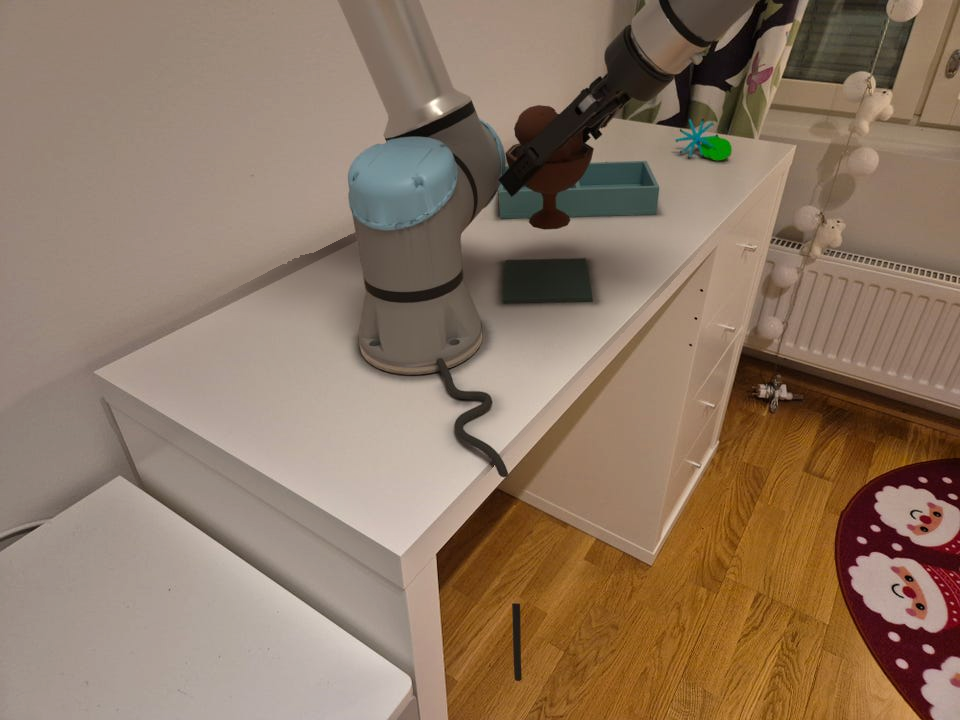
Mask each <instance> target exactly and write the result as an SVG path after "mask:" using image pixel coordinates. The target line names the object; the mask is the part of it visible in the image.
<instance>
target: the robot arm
mask: <svg viewBox="0 0 960 720" xmlns="http://www.w3.org/2000/svg"><path fill="white" fill-rule="evenodd" d="M759 1H760V0H648V1H647V2H646V3H645V4H644V5H643V6H642V8H641V9H640V10H639V11H638V12H637V13H636V14H635V15H634V16H633V17H632V18H631V24H628V25H626V26H624V28H623V29H622V30H621V31H620V32H619V34H618V35H617V36H616V37H615V38H614V39H613V40H612V41H611V42H610V43H609V44H608V45H607V47H606V48H605V51H604V57H603V60H604V64H605V66H606V72H607V73H606V74H605V75H604V76H603V77H602V76H601V75H600V76H598V77H597V78H595V79H594V80H593V81H592V82H591V83H590V84H589V86H588V87H586V88H583V89H582V90H581V91H580V93H579V94H578V95H577V96H576V97H575V98H573V100H572V101H571V103H569V104H568V105H567V106H566V107H565V108H564V109H563V110H562V111H561V112H559V113H558V114H559V115H558V116H557V117H556V118H555V119H554V120H553V121H551V122H550V123H549V124H548V125H547V126H546V127H545V128H544V129H543V130H542V131H541V132H540V133H539V134H538V135H537V136H536V137H534V138H533V139H532V140H531V141H530V142H529V143H528V142H527V141H525V142H524V143H523V145H524V148H522V151H523V154H522V155H521V156H520V157H519V158H518V159H517V160H516V161H515V162H514V163H513V165H512V166H511V167H510V168H509V169H508V170H507V171H506V172H505V165H506V163H507V160H506V155H505V153H506V152H505V149H504V146H503V143H502V140H501V138H500V136H499V135H498V133H497V131H496V130H495V129H494V128H493V127H492V126H491V125H490V124H489V123H488V122H485V120H482V119H481V118H480V117H479V115H478V113H477V110H476V107H475V106H474V105H475V104H474V103H473V100H472V98H471V96H470V95H468V94H467V93H463V92H461V91H459V90H458V89H456V88H455V87H454V85H453V83H452V80H451V77H450V76H449V75H450V74H449V73H448V69H447V66H446V65H445V62H444V59H443V57H442V54H441V52H440V49H439V47H438V44H437V42H436V39H435V36H434V34H433V32H432V29H431V26H430V24H429V21H428V19H427V16H426V13H425V11H424V8H423V6H422V3H421V0H337V2H338V5H339V7H340V9H341V11H342V13H343V17H344V18H345V20H346V23H347V24H348V27H349V29H350V32H351V35H352V36H353V38H354V41H355V43H356V45H357V47H358V50H359V52H360V54H361V57H362V59H363V61H364V63H365V66H366V69H367V71H368V73H369V75H370V77H371V80H372V82H373V84H374V86H375V89H376V91H377V93H378V95H379V96H378V97H380V101H381V102H382V105H383V108H384V109H385V112H386V114H387V123H386V126H385V128H384V132H383V137H384V140H385V143H376V144H373V145H371V146H369V147H368V148H366V149H364V150H363V151H361V152H360V153H359V154H358V155H357V156H356V157H355V158H354V159H353V161H352V162H351V164H350V166H349V169H348V173H347V184H348V206H349V209H350V211H351V216H352V221H353V226H354V231H355V232H354V233H355V237H356V243H357V248H358V249H357V250H358V254H359V260H360V265H361V271H362V278H363V284H364V290H365V293H364V297H363V304H362V309H361V315H360V321H359V325H358V333H357V334H358V335H357V336H358V337H357V338H358V343H359V350H360V353H361V355H362V357H363V358H364V360H365V361H366V362H368V363H369V364H370V365H371V366H373V367H375V368H377V369H379V370H382V371H385V372H388V373H393V374H398V375H410V376H411V375H413V376H414V375H426V374H427V375H428V374H433V373H438V372H440V373H441V376H442V378H443V379H444V383H445V387H446V389H447V391H448V392H449V394H451V395H452V396H453V397H455V398H458V399H462V400H480V401H481V400H482V401H483V402H482V403H481V404H479V405H477V406H475V407H472V408H470V409H468V410H466V411H464V412H463V413H461V414H460V415H458V416H457V418H456V419H455V421H454V432H455V435H456V436H457V437H458V438H459V439H460V440H461V441H462V442H464V443H466V444H468V445H470V446H471V447H474V448H476V449H478V450H479V451H481V452H483V453H484V454H485V455H486V457H488V458H489V459H490V460H491V461H492V463H493V465H494V467H495V469H496V471H497V473H498V475H499V476H500V477H501V478H507V477H508V476H509V471H508V469H507V466H506V465H505V462H504V460H503V459H502V457H501V455H500V453H498V452H497V450H495V448H493V447H492V446H491V445H490V444H489V443H486V442H485V441H483V440H481V439H480V438H478V437H475V436H473V435H471V434H469V433H468V432H467V431H465V429H464V424H465V423H466V422H469V420H471V419H473V418H475V417H477V416H479V415H482V414H483V413H486V412H487V411H488V410H489V409H490V408H491V407H492V405H493V399H492V396H491V395H490V394H489V393H487V392H485V391H479V390H477V391H476V390H473V391H472V390H469V391H468V390H461V389H458V388H457V387H456V385H455V383H454V380H453V377H452V373H451V371H450V370H449V369H451V368H453V367H456V366H458V365H460V364H462V363H464V362H465V361H467V360H468V359H469V358H471V357H473V355H474V354H475V353H476V352H477V351H478V349H479V347H480V346H481V344H482V343H483V342H482V341H483V326H482V325H483V324H482V320H481V317H480V314H479V312H478V309H477V307H476V305H475V302H474V300H473V298H472V296H471V294H470V291H469V290H468V287H467V284H466V283H465V279H464V269H463V266H464V265H463V253H462V251H463V250H462V234H463V232H464V231H465V230H466V229H467V228H468V227H469V226H470V224H471V223H472V222H473V221H474V220H475V219H476V218H477V216H478V215H479V214H480V213H481V212H482V210H484V209H485V208H487V207H488V205H490V204H491V202H492V201H493V200H494V198H495V197H496V195H497V192H499V187H500V185H501V184H502V185H503V187H504V188H505V189H506V191H507V192H508V193H509V194H510V196H511V197H512V196H514V195H515V194H516V193H517V192H518V191H519V190H520V189H521V188H522V187H523V186H524V185H525V184H526V183H527V182H528V181H529V180H530V179H531V178H532V177H533V176H534V175H535V174H536V173H537V172H538V171H539V170H540V169H541V168H542V167H543V166H544V165H545V164H546V161H547V160H548V159H549V158H550V157H551V156H552V155H554V154H555V153H556V152H557V151H558V150H560V149H561V148H562V147H563V146H564V145H565V144H567V143H568V142H569V141H570V140H571V139H572V138H574V137H575V136H576V135H577V134H578V133H579V132H581V131H583V142H585V143H586V144H587V142H588V141H589V140H590V139H591V137H592V138H593V139H594V141H597V140H598V139H599V138H601V137H602V136H603V133H602V131H600V129H603V128H604V129H605V128H606V127H607V126H608V124H609V123H610V122H611V121H612V120H613V119H614V118H615V117H616V115H617V114H618V113H619V112H620V111H621V110H622V109H623V108H624V107H625V106H626V105H628V104H629V103H630V102H631V100H632V99H633V100H636V101H638V102H650V101H652V100H653V99H655V98H656V97H657V96H658V95H659V94H660V93H661V92H662V91H664V90H665V89H666V88H667V87H668V85H670V84H671V83H672V82H673V81H674V80H675V76H676V75H678V74H681V73H682V72H683V71H684V70H685V69H686V68H687V67H688V66H689V65H690V64H691V63H693V64H694V65H697V66H698V65H699V64H701V63H702V61H703V55H702V54H701V53H702V52H704V51H705V50H707V48H709V47H710V46H711V45H712V44H713V43H714V42H715V41H716V40H718V39H719V38H720V37H721V36H722V35H724V33H725V32H727V31H728V30H729V29H730V28H731V27H732V26H733V25H734V24H735V23H736V22H738V20H740V19H741V18H742V17H743V16H744V15H746V13H747V12H749V11H750V10H751V9H752V8H753V7H754V6H755V5H756V4H758V3H759ZM589 134H590V135H589ZM511 607H512V608H511V609H512V613H511V615H512V652H513V654H512V655H513V677H514V680H515V681H516V682H520V681H522V677H523V676H522V675H523V674H522V644H521V643H522V642H521V641H522V639H521V636H522V635H521V631H522V630H521V627H522V626H521V603H511Z"/></svg>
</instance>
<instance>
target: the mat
mask: <svg viewBox="0 0 960 720" xmlns="http://www.w3.org/2000/svg"><path fill="white" fill-rule="evenodd" d="M503 274H504V275H503V292H502V294H503V295H502V296H503V297H502V303H503V304H522V303H523V304H525V303H528V304H529V303H578V302H579V303H581V302H582V303H583V302H584V303H586V302H589V303H590V302H593V301H594V297H593V292H592V285H591V280H590V275H589V274H590V273H589V268H588V263H587V258H586V257H577V258H576V257H575V258H574V257H573V258H540V259H539V258H535V259H534V258H533V259H531V258H530V259H529V258H527V259H504V272H503Z"/></svg>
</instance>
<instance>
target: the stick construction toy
mask: <svg viewBox="0 0 960 720" xmlns="http://www.w3.org/2000/svg"><path fill="white" fill-rule="evenodd" d="M688 123H689V126H690V130H691V133H692V134H691V133H689V132H687V131H685V130H683V129H682V128H679V132H680V133H681V134H683V135H684V136H685V137H680V138H676V139H674V141H675V142H676V143H679V142H684V141H691V142H690V143H689V144H687V146H685V147H684V148H683V149H682V150H680V151H679V154H680V155H682V154H684V153H685V152H686V151H688V150H689V153H688V158H689V159H691V158H692V154H693V152H694V149H695V146H696V147H697V148H698V150H699V153H700V155H701V157H702V159H703V158H706V159H709V160H713V161H715V162H721V161H725V160H727V159H728V158H729V157H730V156H732V153H733V148H732V144H731V142H730V141H729V140H728V139H726V138H724V137H723V138H722V137H719V134H715V135H708V136H702V135H703V134H704V133H705V132H706V131H707V130H709V129H710V128H711V127H712V126H713V127H714V125H715V124H714V122H713V121H712V122H709V124H707V125H706V126H705V127H704V123H705V119H704V118H701V123H700V125H699V128H698V130H697V131H696V129H695V126H694V124H693V122H692V119H691V118H689V119H688Z"/></svg>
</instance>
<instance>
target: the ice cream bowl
mask: <svg viewBox="0 0 960 720" xmlns="http://www.w3.org/2000/svg"><path fill="white" fill-rule="evenodd" d="M559 114H560V113H557V111H556V109H555V108H554V107H552V106H550V105H541V104H538V105H533V106H529V107H528V108H526V109H524V110H523V111H522V112H521V113H520V114H519V115H518V118H517V120H516V122H515V124H514V127H513V130H514V137H515V138H516V140H517V142H518V143H516V144H513V145H512V146H511V147H510V148H509V149H508V150H507V151H506V152H505V160H506V163H507V165H508V166H509V168H510V167H511V166H512V165H513V163H514V162H515V161H516V160H517V159H518V158H519V157H520V156H521V155H522V154H523V151H522V148H524V145H523V143H524V142H525V141H527V142H528V143H529V142H530V141H531V140H532V139H533V138H534V137H536V136H537V135H538V134H539V133H540V132H541V131H542V130H543V129H544V128H545V127H546V126H547V125H548V124H549V123H550V122H551V121H553V120H554V119H555V118H556V117H557V116H558V115H559ZM594 150H595V147H592V146H591V145H590V144H587V142H586V143H585V142H583V131H581V132H579V133H578V134H577V135H576V136H575V137H574V138H572V139H571V140H570V141H569V142H568V143H567V144H565V145H564V146H563V147H562V148H561V149H560V150H558V151H557V152H556V153H555V154H554V155H552V156H551V157H550V158H549V159H548V160H547V161H546V164H545V165H544V166H543V167H542V168H541V169H540V170H539V171H538V172H537V173H536V174H535V175H534V176H533V177H532V178H531V179H530V180H529V181H528V182H527V183H526V184H525V186H526V187H527V188H529V189H530V190H532V191H534V192H538V193H541V195H542V197H543V209H541V210H539V211H538V212H536V213H534V214H533V215H532V216H531V218H529V220H528V223H529V224H530V226H531V227H532V228H535V229H540V230H544V231H545V230H559V229H562V228H564V227H567V226H569V224H570V222H571V217H569V216H568V215H567V214H566V213H565V212H563V211H561V210H559V209H557V208H556V196H557V194H558V192H562V191H565V190H567V189H569V188H570V187H572V186H573V185H575V184H576V183H577V182H578V181H579V180H580V179H581V178H582V176H583V175H584V173H585V171H586V170H587V168H588V166H589V164H590V163H592V162H591V161H592V158H593V154H594Z"/></svg>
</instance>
